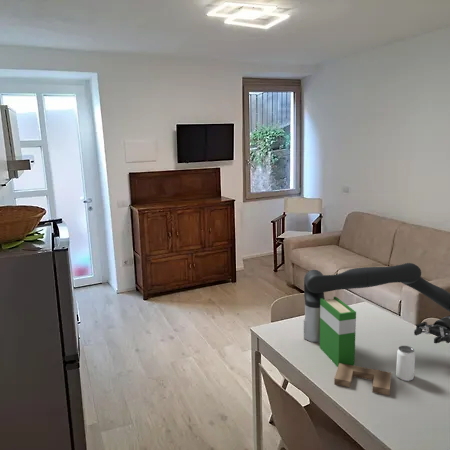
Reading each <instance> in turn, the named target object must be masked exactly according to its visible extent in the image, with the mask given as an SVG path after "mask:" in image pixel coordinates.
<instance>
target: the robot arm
mask: <svg viewBox="0 0 450 450" xmlns="http://www.w3.org/2000/svg"><path fill="white" fill-rule="evenodd" d="M421 275H422V270H421V268H420V267H419V266H418V265H417V264H415V263H412V262H407V263H403V264H402V263H401V264H397V265H393V266H369V267H368V266H366V267H365V266H364V267H355V268H350V269H347V270H345V271H343V272H340V273H337V274H327V275H326V274H325V275H324V274H323V273H322V272H321V271H320V270H317V269H312V270H309V271H307V272H306V274H305V275H304V278H303V285H304V286H303V293H304V294H303V296H304V320H303V339H304V340H306V341H309V342H311V343H320V298H323V299H324V300H326V298H325V293H328V292H333V291H340V290H350V289H351V290H353V289H363V288H364V289H365V288H372V287H377V286H382V285H386V284H392V283H394V284H395V283H401V284H403V285H405V286H408V287H409V288H412V289H413V290H415V291H417V292H419V293H421V294H423V295H424V296H425V297H427V298H429V299H430V300H432V301H433V302H434V303H436V304H437V305H438V306H440V307H442V309H445V310H446V311H448V312H449V313H450V292H449V291H447V290H446V289H444V288H442V287H439V286H438V285H437V284H436V285H435V284H434V283H432V282H430V281H428V280H426V279H425V278H423V277H422V276H421ZM415 325H416V326H415V327H416V328H415V329H414V331H413V333H414V334H413V335H414V336H418V335H421V334H426V335H433V336H435V337H434V338H433V343H434V344H440V343H441V342H442V343H444V342H445V343H447V344H450V315H447V316H444V317H442V318H440V319H437V320H435V322H434V323H433V324H428V322H427V321H423V322H419V323H418V324H415Z"/></svg>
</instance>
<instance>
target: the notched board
mask: <svg viewBox="0 0 450 450" xmlns="http://www.w3.org/2000/svg"><path fill="white" fill-rule="evenodd" d="M353 377H354V378H359V379H364V380H369V381H372V389H371V392H372V393H375V394H381V395H385V396H390V395H391V381H392V372H391V371H386V370H380V369H375V368H368V367H363V366H359V365H348V364H342V363H339V365H338V367H337V369H336V372H335V376H334V383H333V384H334V385H337V386H342V387H345V388H351V386H352V381H353Z"/></svg>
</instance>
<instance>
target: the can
mask: <svg viewBox="0 0 450 450" xmlns="http://www.w3.org/2000/svg"><path fill="white" fill-rule="evenodd" d="M415 362H416V353H415V348H413V347H411V346H409V345H400V346H399V347H398V349H397V351H396V367H395V376H396V377H397V378H398V379H399V380H402V381H404V382H405V381H406V382H410V381H413V379H414V376H415V364H416V363H415Z"/></svg>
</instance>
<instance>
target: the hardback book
mask: <svg viewBox="0 0 450 450" xmlns="http://www.w3.org/2000/svg"><path fill="white" fill-rule="evenodd" d="M356 324H357V311H356V310H354V309H353V308H352V307H350V306H349V305H348V304H346V303H345V302H344V301H342V300H341V299H339V298H338V297H337V296H333V298H330V299H329V298H328V299H325V300H324V299H323V298H320V342H319V349H320V350H321V351H322V352H323V353H324V354H325V355H326V356H327V358H328V359H330V361H331V360H332V363H333V364H334V365H335V366H336V367H337V368H338V365H339V363H342V364H348V365H353V366H355V358H356V357H355V356H356V330H357V328H356V327H357V325H356Z"/></svg>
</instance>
